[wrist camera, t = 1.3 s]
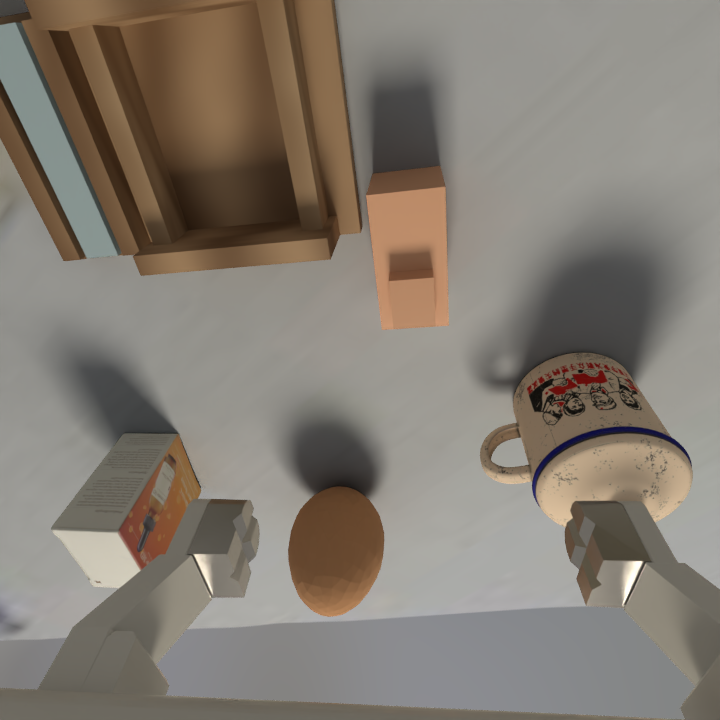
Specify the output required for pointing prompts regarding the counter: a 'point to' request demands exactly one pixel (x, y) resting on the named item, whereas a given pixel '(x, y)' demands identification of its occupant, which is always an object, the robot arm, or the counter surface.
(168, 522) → the small box
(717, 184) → the counter surface
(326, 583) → the egg
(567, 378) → the teacup with lid
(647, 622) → the robot arm
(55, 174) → the plank
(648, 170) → the counter surface
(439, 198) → the block
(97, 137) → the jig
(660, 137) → the counter surface
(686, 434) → the counter surface
